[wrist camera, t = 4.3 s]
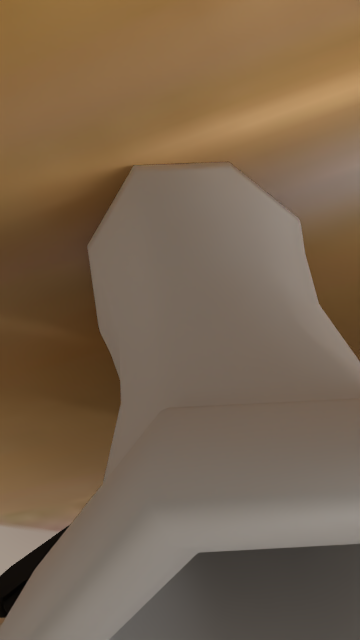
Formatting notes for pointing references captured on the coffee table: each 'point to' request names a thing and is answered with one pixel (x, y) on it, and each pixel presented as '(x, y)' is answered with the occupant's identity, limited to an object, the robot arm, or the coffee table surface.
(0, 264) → the coffee table surface
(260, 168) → the coffee table surface
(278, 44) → the coffee table surface
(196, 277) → the flask
